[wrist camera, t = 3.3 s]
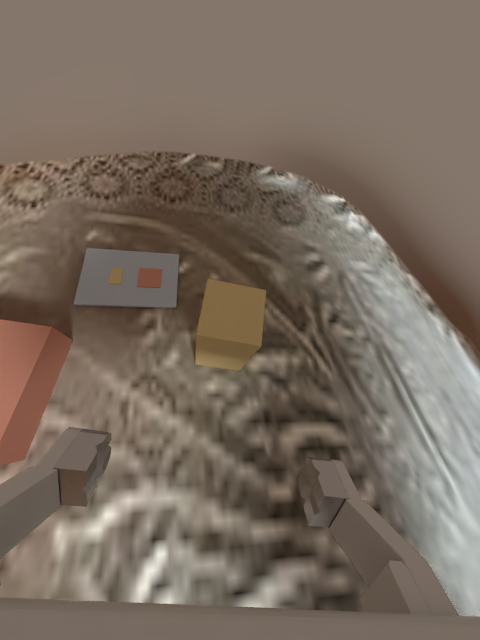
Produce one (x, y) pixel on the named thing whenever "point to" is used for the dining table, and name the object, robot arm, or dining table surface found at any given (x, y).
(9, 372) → the base brick
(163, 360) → the dining table surface
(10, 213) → the dining table surface
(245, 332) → the ochre brick
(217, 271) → the dining table surface
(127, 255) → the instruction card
